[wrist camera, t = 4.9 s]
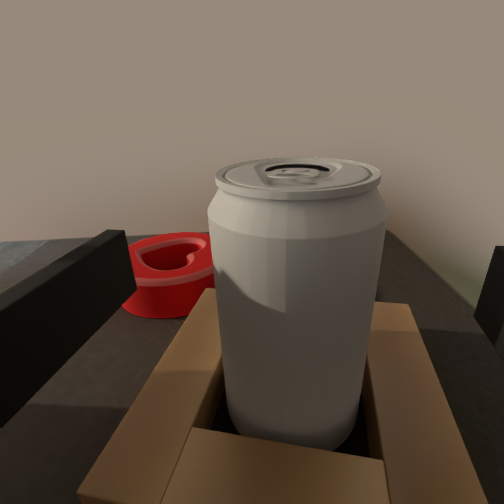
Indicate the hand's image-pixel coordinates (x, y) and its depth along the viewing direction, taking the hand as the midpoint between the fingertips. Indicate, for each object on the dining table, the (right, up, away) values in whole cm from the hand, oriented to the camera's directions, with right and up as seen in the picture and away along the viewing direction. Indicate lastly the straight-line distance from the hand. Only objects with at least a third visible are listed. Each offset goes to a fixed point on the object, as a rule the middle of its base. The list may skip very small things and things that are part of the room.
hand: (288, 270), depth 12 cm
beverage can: (+1, -7, +4) cm, 9 cm away
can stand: (+1, -7, +4) cm, 8 cm away
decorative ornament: (-8, -2, +16) cm, 18 cm away
